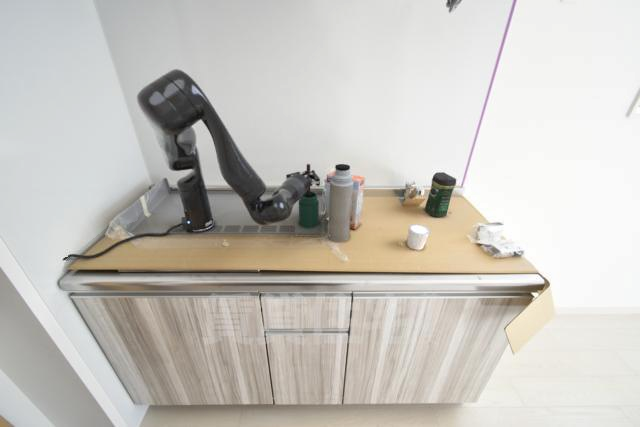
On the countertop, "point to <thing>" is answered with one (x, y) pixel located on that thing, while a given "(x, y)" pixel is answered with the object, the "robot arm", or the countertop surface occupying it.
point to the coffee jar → (440, 194)
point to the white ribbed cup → (417, 236)
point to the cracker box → (356, 199)
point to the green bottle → (309, 210)
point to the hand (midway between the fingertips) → (310, 172)
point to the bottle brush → (309, 187)
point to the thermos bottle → (340, 203)
